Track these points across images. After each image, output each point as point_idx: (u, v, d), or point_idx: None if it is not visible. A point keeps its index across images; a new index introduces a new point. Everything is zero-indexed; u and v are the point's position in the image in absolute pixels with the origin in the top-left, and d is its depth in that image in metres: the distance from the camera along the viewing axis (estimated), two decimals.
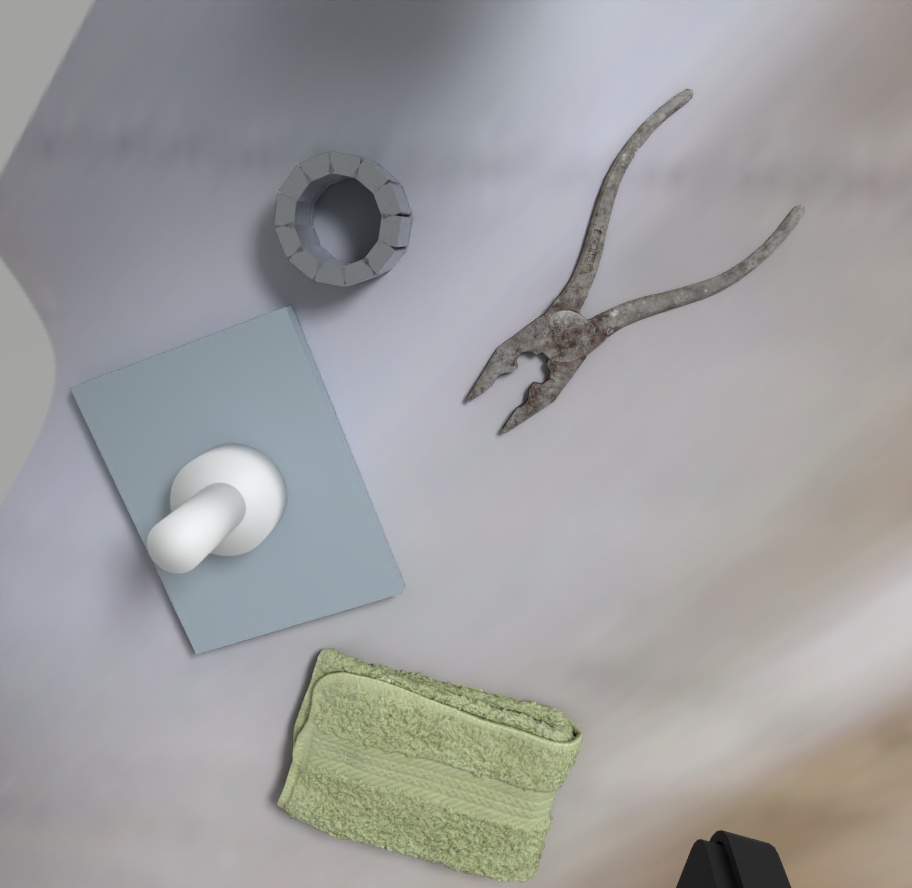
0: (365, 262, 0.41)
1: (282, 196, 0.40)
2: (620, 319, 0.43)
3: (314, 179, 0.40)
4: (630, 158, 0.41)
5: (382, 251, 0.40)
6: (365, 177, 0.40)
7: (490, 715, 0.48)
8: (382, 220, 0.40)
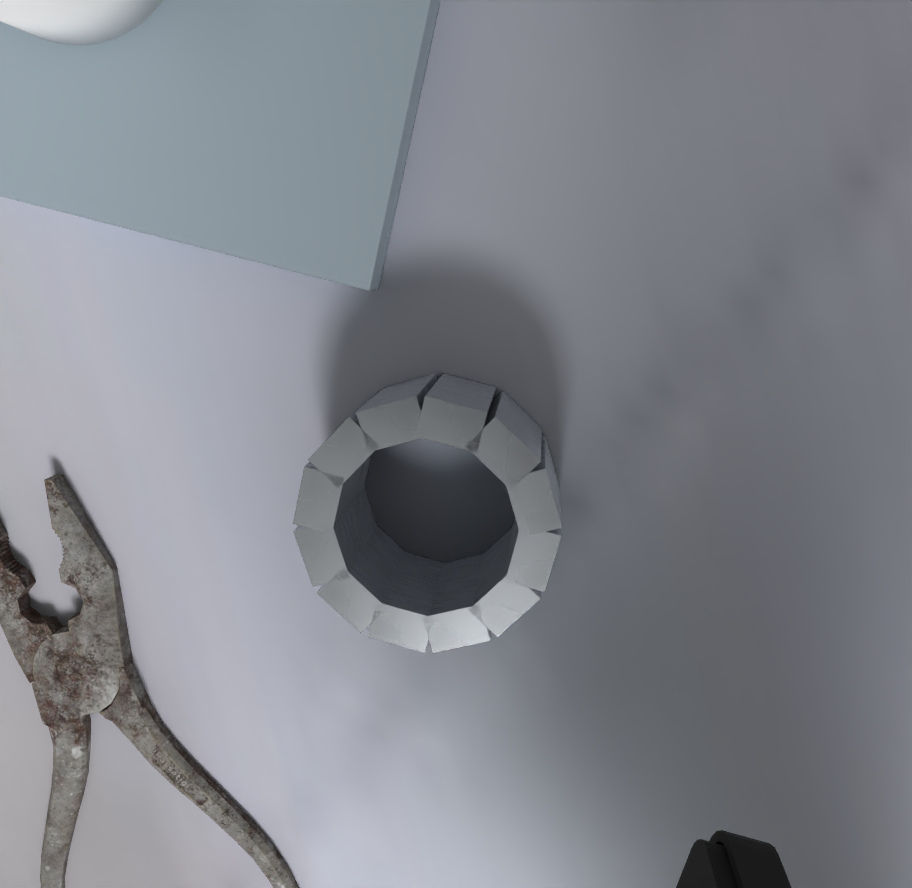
0: (325, 525, 0.20)
1: (530, 466, 0.19)
2: (62, 753, 0.26)
3: (518, 540, 0.19)
4: None
5: (325, 565, 0.20)
6: (460, 621, 0.20)
7: None
8: (375, 599, 0.20)
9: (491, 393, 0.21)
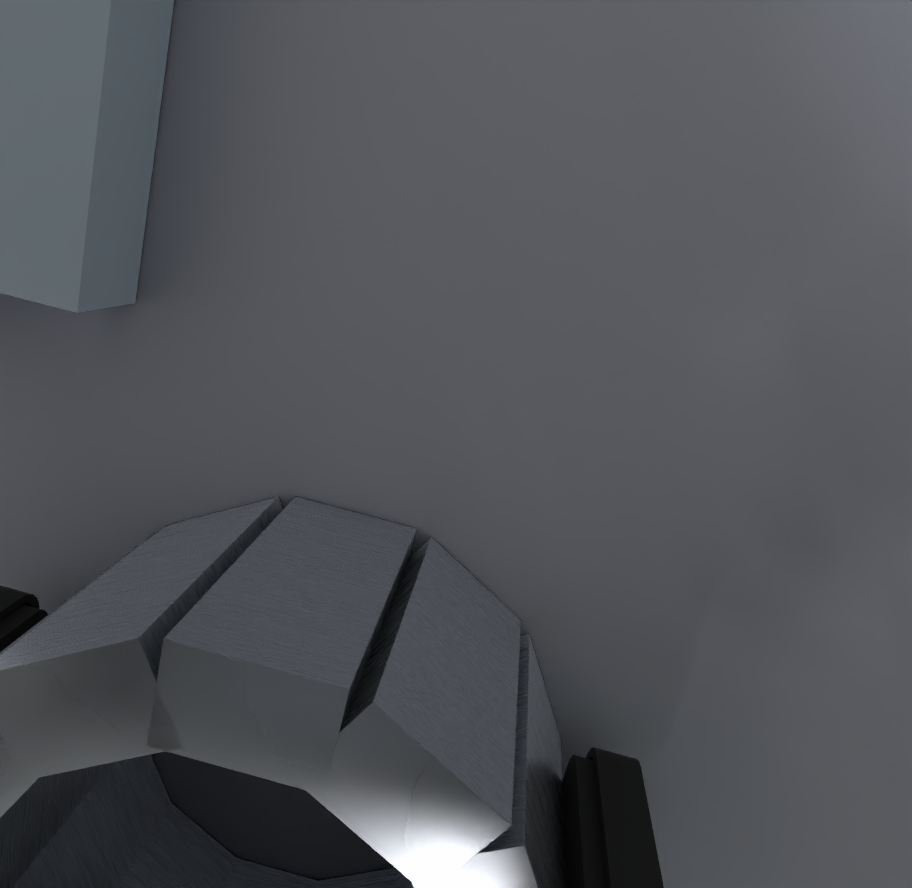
0: None
1: (482, 836, 0.06)
2: None
3: None
4: None
5: None
6: None
7: None
8: None
9: (395, 563, 0.08)
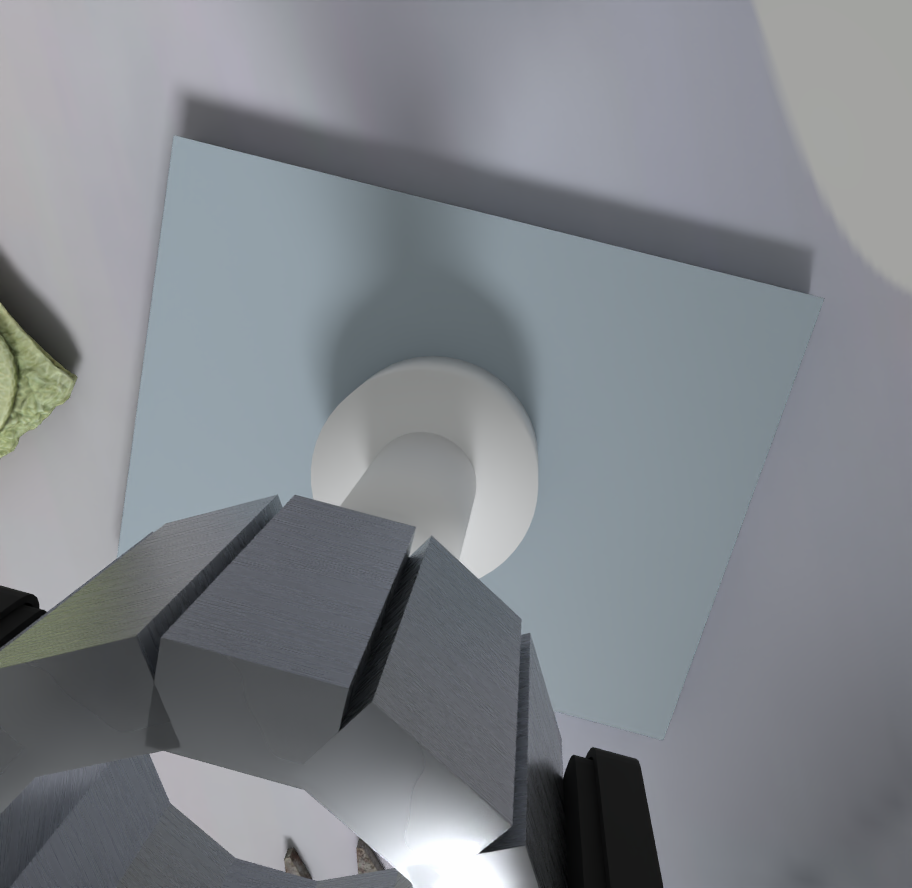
0: None
1: (482, 836, 0.06)
2: None
3: None
4: None
5: None
6: None
7: None
8: None
9: (394, 561, 0.08)
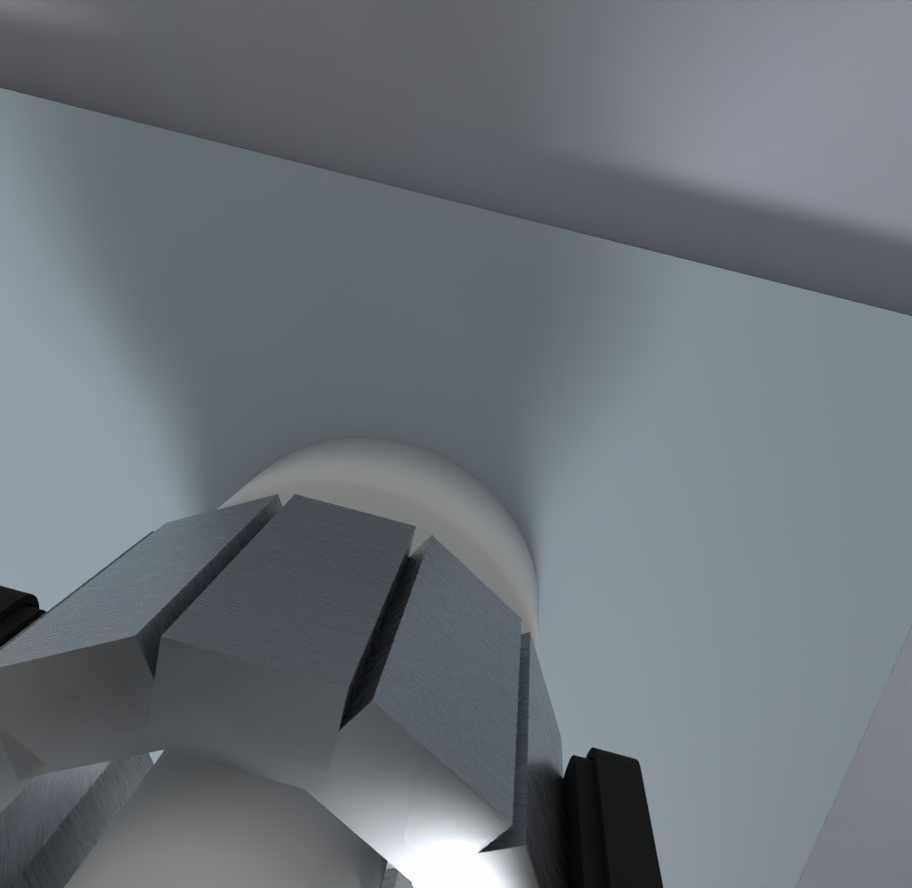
0: None
1: (483, 835, 0.06)
2: None
3: None
4: None
5: None
6: None
7: None
8: None
9: (395, 561, 0.08)
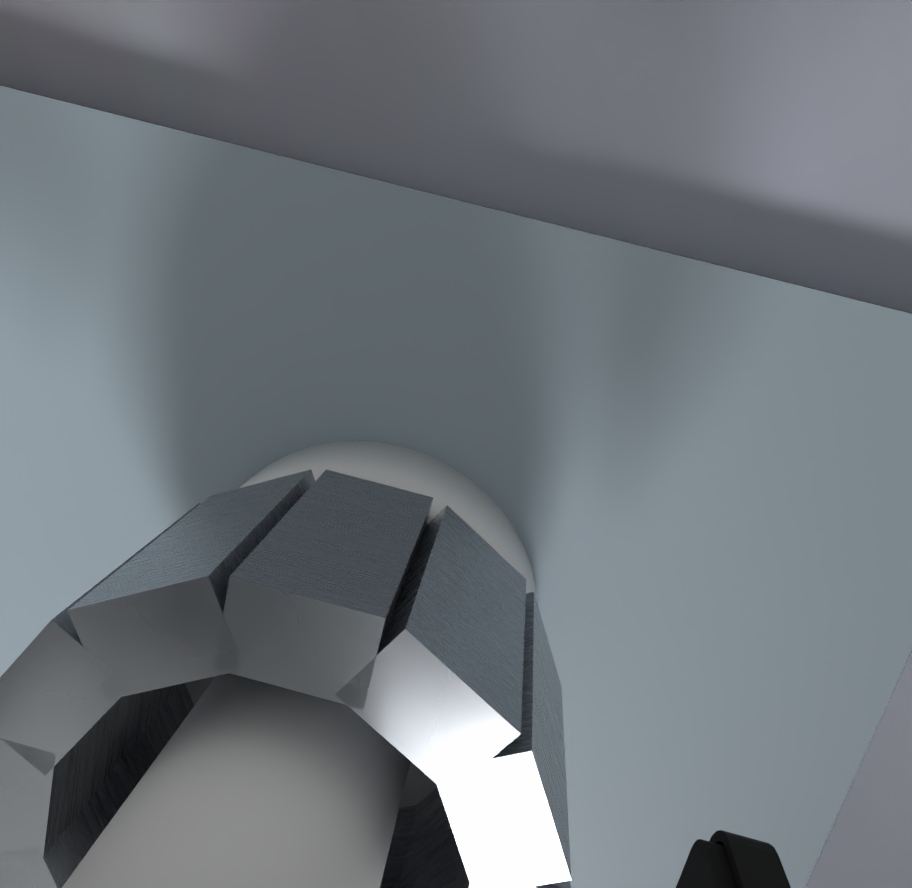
0: (25, 852, 0.09)
1: (496, 743, 0.08)
2: None
3: None
4: None
5: None
6: None
7: None
8: None
9: (416, 524, 0.10)
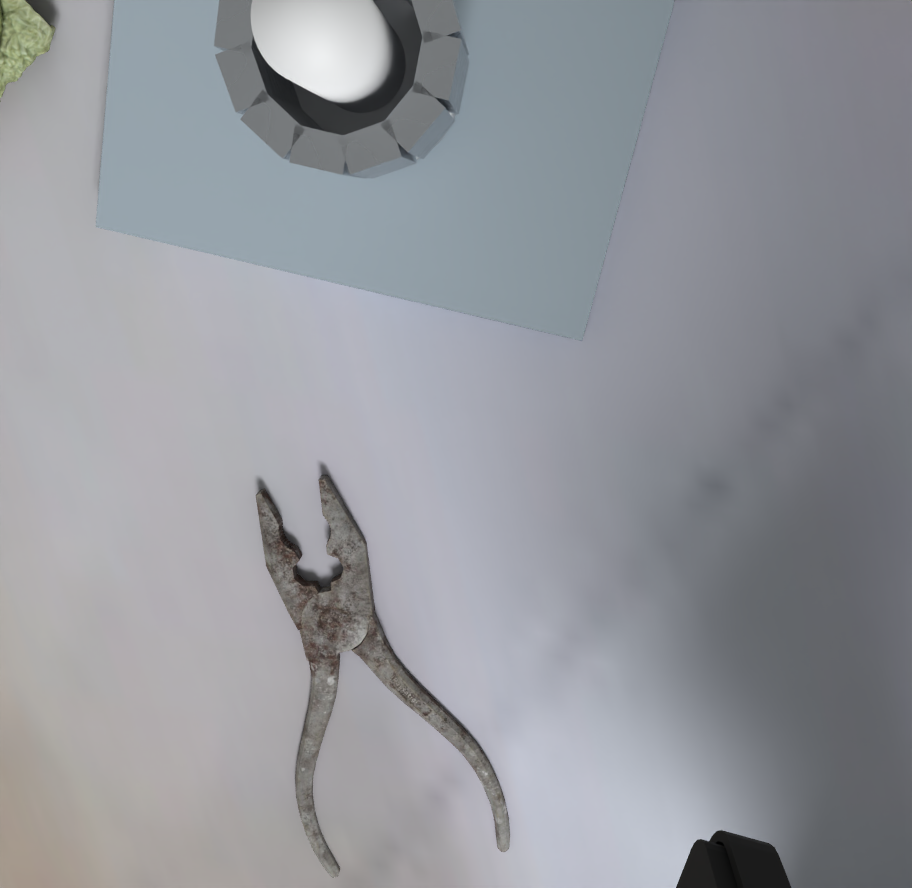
0: (244, 46, 0.21)
1: None
2: (320, 682, 0.35)
3: (421, 47, 0.21)
4: (479, 776, 0.35)
5: (246, 89, 0.21)
6: (373, 138, 0.22)
7: None
8: (294, 122, 0.22)
9: None
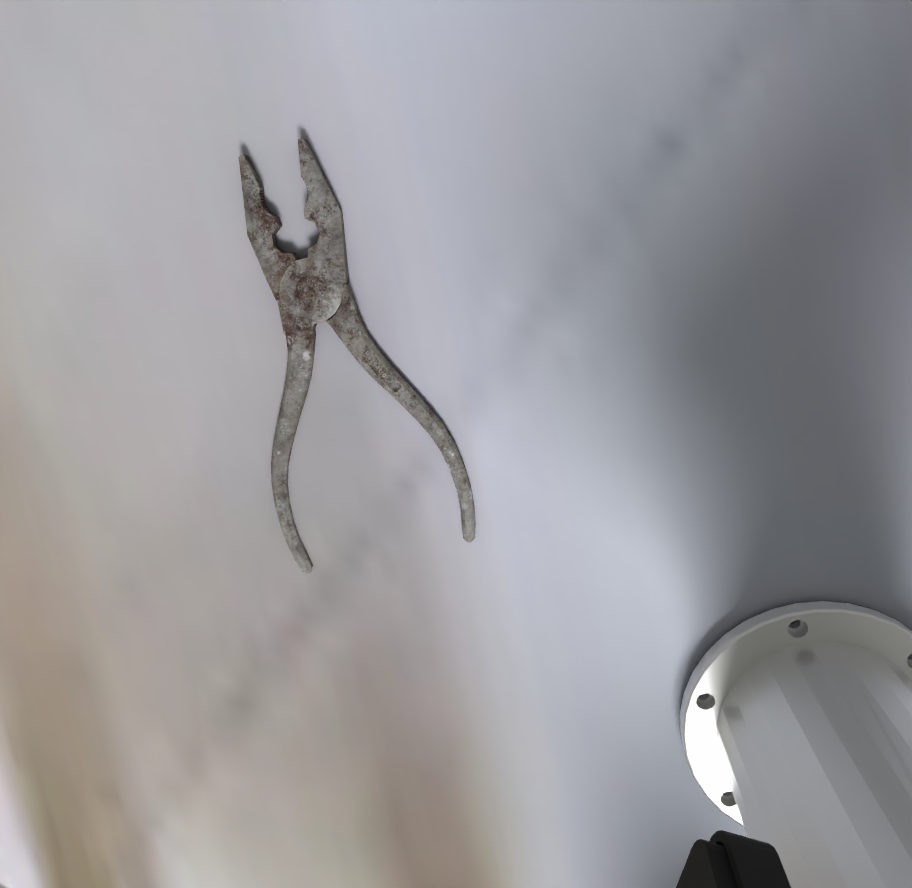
0: None
1: None
2: (296, 357, 0.36)
3: None
4: (446, 457, 0.37)
5: None
6: None
7: None
8: None
9: None
